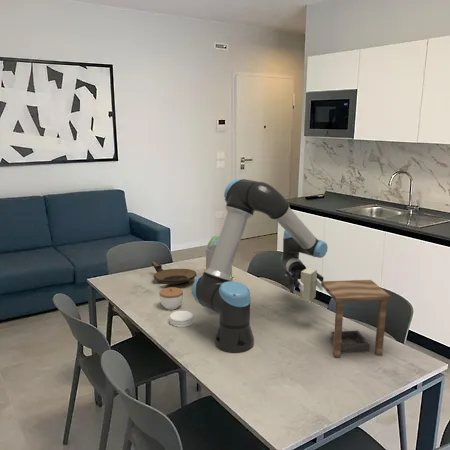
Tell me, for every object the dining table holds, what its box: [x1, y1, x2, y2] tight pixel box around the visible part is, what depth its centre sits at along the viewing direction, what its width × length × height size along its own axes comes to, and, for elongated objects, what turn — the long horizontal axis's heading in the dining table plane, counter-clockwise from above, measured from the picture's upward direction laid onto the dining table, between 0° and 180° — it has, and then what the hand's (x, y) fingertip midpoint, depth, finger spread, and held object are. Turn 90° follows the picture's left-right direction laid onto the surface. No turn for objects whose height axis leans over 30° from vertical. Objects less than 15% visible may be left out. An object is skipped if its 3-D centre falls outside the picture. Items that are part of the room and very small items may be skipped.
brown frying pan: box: [151, 261, 197, 285], centre depth 242 cm, size 22×30×8 cm
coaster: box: [169, 310, 194, 328], centre depth 193 cm, size 10×10×4 cm
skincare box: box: [299, 267, 318, 302], centre depth 185 cm, size 6×4×12 cm
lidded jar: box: [159, 286, 184, 311], centre depth 208 cm, size 11×11×9 cm
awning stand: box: [321, 279, 392, 359], centre depth 170 cm, size 17×20×24 cm
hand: (312, 287), depth 180 cm, fingers closed on skincare box, 7 cm apart
